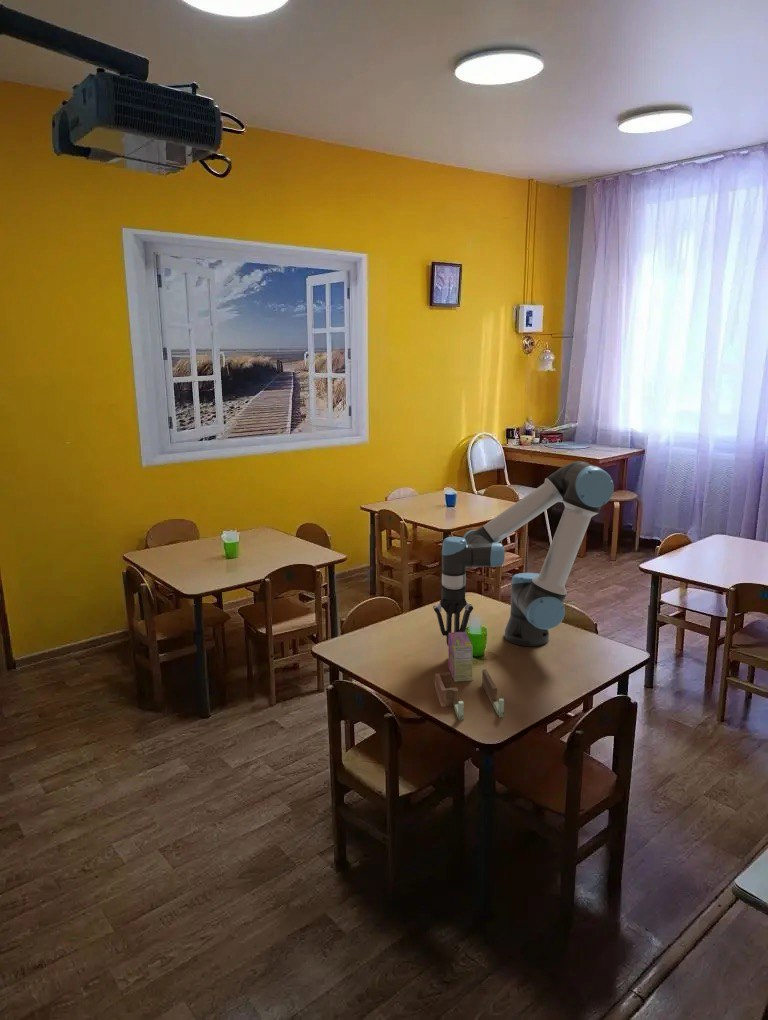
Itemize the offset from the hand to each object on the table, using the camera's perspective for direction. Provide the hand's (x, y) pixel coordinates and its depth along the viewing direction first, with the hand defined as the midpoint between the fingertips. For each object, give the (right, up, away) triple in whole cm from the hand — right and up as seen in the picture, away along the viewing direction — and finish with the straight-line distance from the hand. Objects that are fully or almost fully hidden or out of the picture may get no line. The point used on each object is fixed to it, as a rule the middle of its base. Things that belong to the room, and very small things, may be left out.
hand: (452, 654), depth 223 cm
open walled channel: (+1, -7, -24) cm, 25 cm away
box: (+1, -4, -10) cm, 11 cm away
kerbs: (+4, -9, -34) cm, 35 cm away
